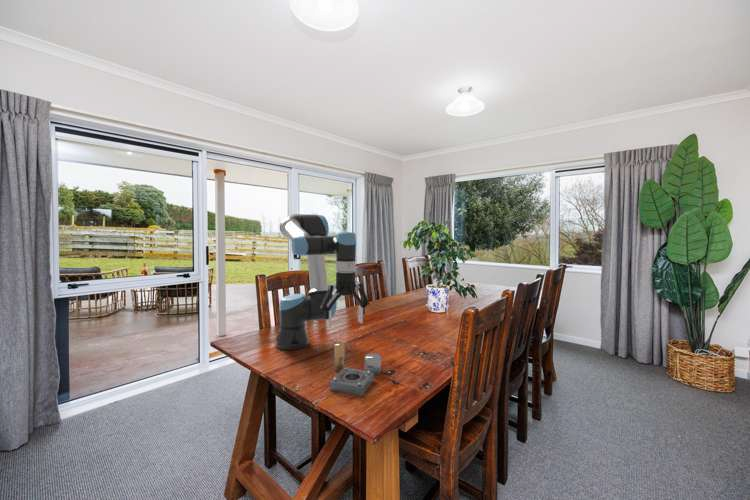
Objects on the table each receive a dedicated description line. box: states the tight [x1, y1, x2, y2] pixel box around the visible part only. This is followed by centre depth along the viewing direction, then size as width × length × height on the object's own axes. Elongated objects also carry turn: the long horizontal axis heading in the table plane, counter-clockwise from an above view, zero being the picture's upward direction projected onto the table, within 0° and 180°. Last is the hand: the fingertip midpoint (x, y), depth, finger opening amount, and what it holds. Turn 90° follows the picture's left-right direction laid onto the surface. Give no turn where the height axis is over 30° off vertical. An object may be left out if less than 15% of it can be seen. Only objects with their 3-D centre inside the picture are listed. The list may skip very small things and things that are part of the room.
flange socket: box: [329, 366, 375, 397], centre depth 114 cm, size 12×12×4 cm
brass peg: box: [333, 341, 346, 372], centre depth 126 cm, size 4×4×10 cm
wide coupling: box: [363, 352, 382, 376], centre depth 125 cm, size 6×6×6 cm
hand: (345, 324), depth 127 cm, fingers open, 13 cm apart
